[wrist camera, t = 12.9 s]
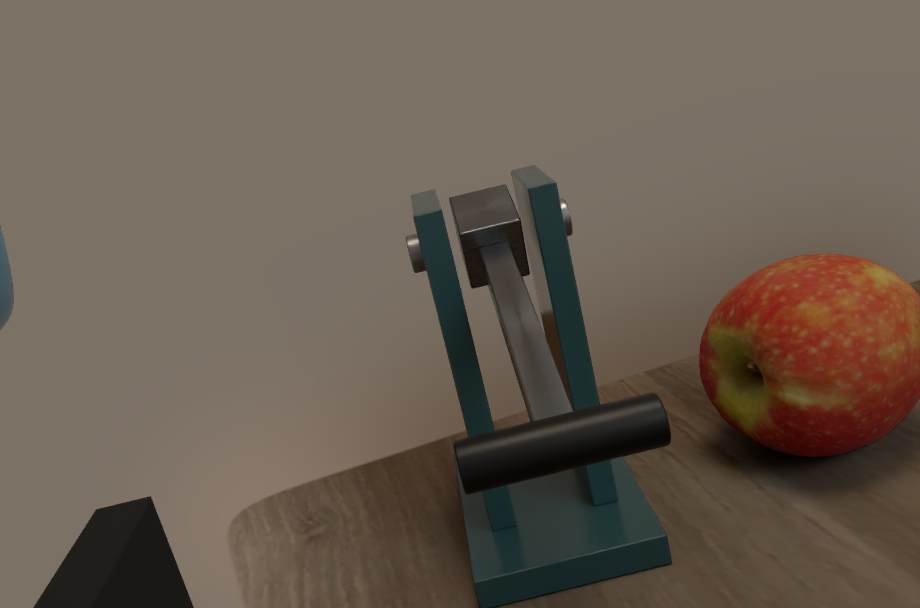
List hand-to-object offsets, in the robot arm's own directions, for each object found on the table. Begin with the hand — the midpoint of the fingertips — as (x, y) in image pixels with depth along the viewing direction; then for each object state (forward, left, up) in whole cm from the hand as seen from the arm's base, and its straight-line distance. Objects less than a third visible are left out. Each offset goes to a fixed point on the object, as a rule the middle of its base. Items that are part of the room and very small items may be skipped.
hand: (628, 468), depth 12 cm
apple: (+12, +20, -13) cm, 27 cm away
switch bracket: (0, +20, -13) cm, 24 cm away
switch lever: (0, +15, -4) cm, 16 cm away
